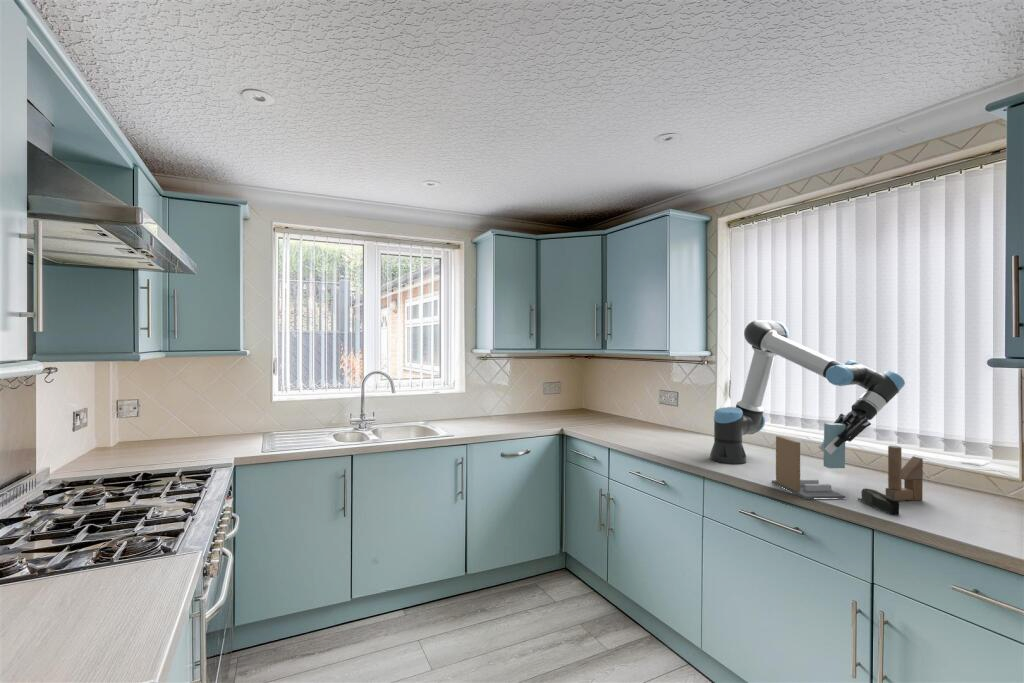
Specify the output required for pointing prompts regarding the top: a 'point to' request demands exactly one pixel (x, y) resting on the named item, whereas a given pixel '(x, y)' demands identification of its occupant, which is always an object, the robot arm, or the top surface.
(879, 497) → the black stapler
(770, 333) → the robot arm
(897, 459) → the wooden block
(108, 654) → the top surface
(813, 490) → the stand
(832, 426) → the door panel
